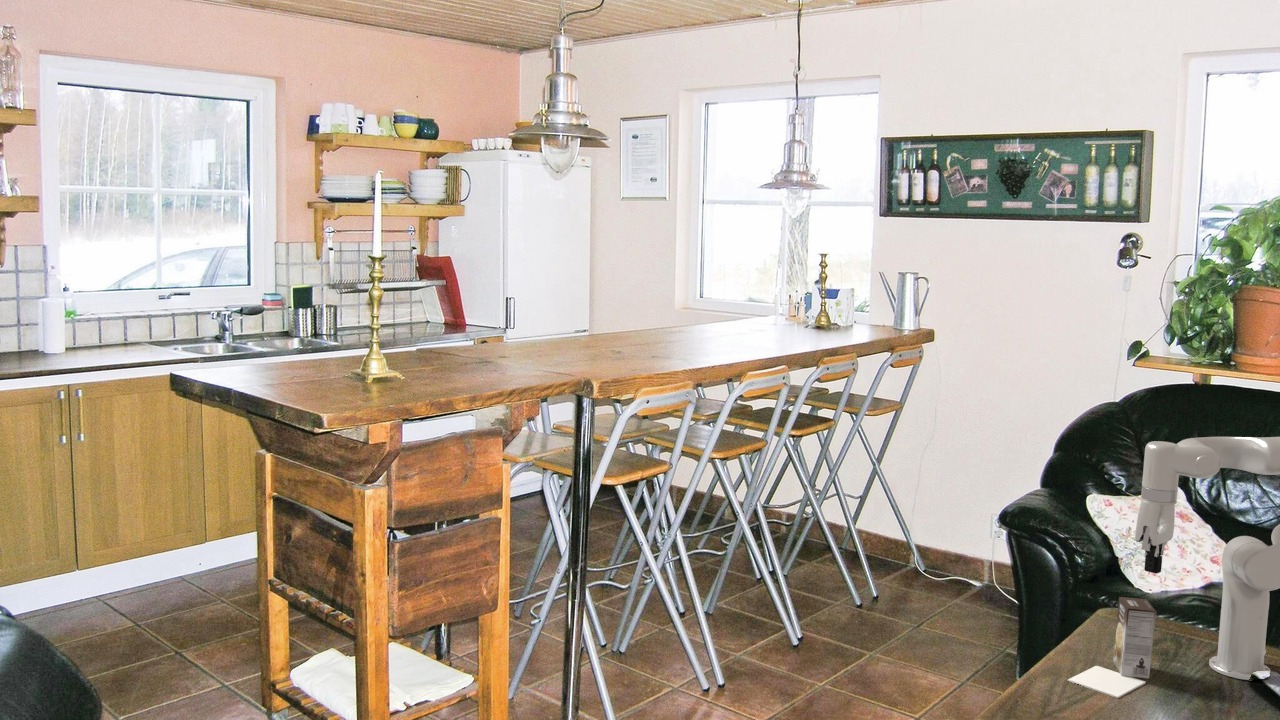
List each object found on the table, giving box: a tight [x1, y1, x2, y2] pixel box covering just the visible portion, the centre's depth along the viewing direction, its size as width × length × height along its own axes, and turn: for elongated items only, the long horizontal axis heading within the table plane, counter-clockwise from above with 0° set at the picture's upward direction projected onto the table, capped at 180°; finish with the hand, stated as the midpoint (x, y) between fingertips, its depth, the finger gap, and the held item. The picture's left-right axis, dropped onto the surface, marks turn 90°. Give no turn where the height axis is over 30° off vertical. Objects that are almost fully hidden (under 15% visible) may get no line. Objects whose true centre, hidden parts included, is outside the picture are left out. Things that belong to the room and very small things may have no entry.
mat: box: [1067, 665, 1147, 699], centre depth 246 cm, size 13×12×1 cm
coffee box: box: [1113, 596, 1157, 679], centre depth 252 cm, size 9×6×16 cm
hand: (1152, 571), depth 255 cm, fingers closed
